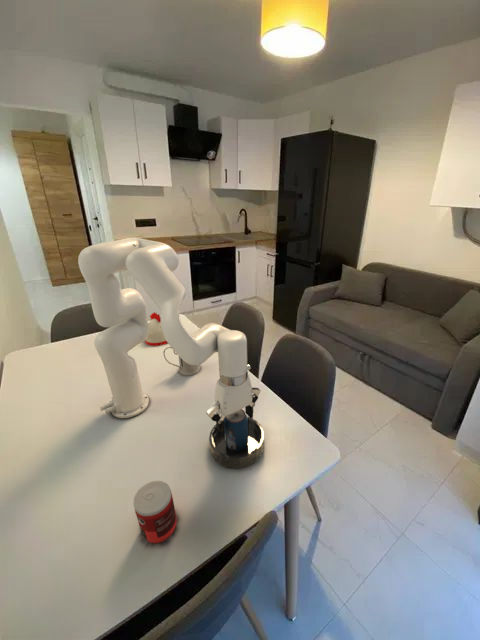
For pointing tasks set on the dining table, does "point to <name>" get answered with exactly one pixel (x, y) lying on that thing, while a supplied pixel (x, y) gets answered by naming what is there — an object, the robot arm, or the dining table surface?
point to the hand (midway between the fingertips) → (235, 422)
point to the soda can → (236, 431)
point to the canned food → (155, 511)
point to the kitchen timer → (155, 331)
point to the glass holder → (184, 366)
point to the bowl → (242, 457)
